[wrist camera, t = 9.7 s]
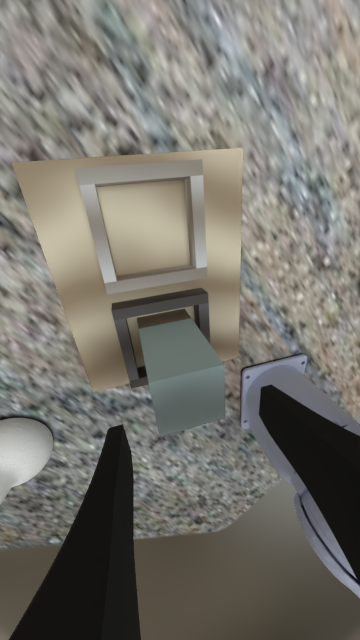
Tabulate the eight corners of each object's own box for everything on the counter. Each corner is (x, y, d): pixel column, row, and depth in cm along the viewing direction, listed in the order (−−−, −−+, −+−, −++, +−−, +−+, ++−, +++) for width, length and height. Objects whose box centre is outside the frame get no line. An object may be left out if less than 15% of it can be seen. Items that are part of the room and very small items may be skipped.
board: (232, 351, 24) (245, 366, 21) (94, 383, 21) (91, 404, 19) (234, 152, 16) (255, 141, 14) (19, 166, 14) (-2, 156, 11)
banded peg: (188, 348, 21) (225, 418, 14) (145, 358, 20) (160, 436, 13) (184, 308, 19) (224, 364, 12) (136, 317, 18) (148, 383, 11)
